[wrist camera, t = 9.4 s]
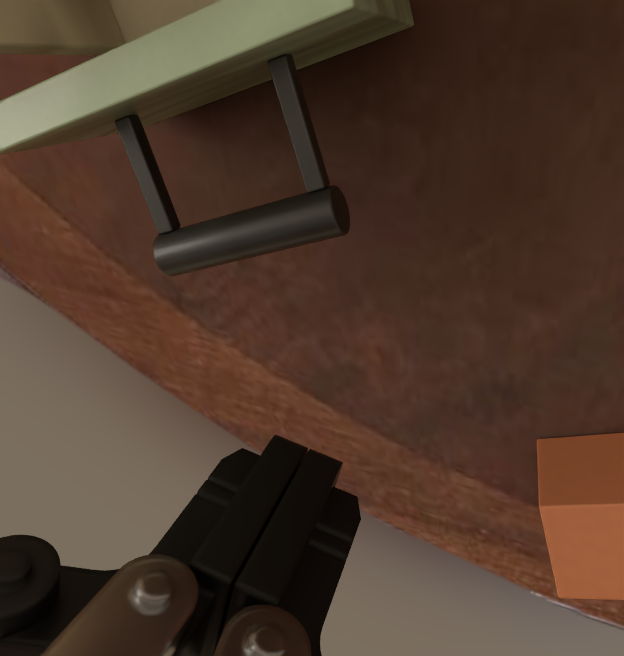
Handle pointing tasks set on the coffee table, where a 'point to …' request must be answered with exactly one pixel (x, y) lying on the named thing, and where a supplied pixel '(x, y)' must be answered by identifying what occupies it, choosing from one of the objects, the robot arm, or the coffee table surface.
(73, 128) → the drawer
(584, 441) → the block
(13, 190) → the coffee table surface
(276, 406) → the coffee table surface
